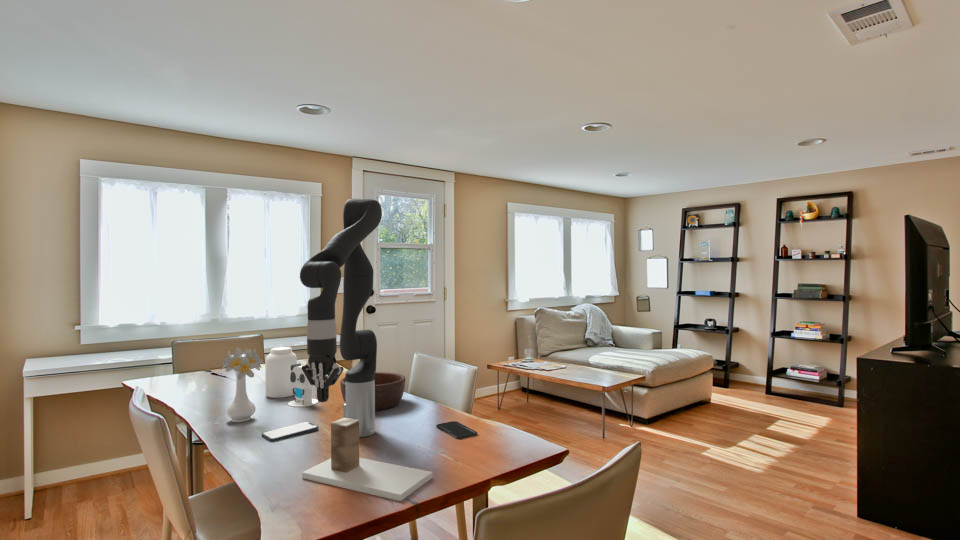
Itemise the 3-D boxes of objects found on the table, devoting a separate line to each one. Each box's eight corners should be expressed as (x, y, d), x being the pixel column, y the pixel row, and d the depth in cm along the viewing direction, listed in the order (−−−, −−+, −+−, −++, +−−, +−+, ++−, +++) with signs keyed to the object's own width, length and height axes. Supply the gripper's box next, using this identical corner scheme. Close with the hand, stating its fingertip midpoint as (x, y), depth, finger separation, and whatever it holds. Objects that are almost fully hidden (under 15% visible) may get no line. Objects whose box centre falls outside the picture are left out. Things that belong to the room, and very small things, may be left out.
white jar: (302, 394, 212) (302, 347, 212) (273, 400, 203) (273, 351, 203) (289, 389, 221) (288, 344, 221) (260, 395, 212) (260, 347, 212)
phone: (455, 420, 172) (478, 432, 159) (455, 424, 172) (478, 436, 159) (434, 424, 168) (457, 437, 155) (434, 428, 168) (457, 440, 155)
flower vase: (232, 430, 165) (232, 354, 165) (214, 418, 178) (214, 348, 178) (272, 421, 174) (271, 350, 174) (252, 411, 188) (252, 344, 188)
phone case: (271, 444, 154) (320, 431, 165) (271, 439, 154) (319, 426, 165) (260, 437, 160) (307, 425, 171) (259, 432, 160) (307, 420, 171)
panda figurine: (281, 403, 199) (281, 365, 199) (307, 397, 207) (307, 361, 207) (297, 408, 191) (297, 369, 191) (323, 402, 199) (323, 364, 199)
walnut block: (331, 469, 129) (330, 422, 129) (344, 462, 133) (344, 417, 133) (346, 472, 127) (346, 425, 126) (359, 465, 131) (359, 419, 131)
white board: (302, 478, 127) (302, 472, 127) (339, 459, 140) (339, 453, 140) (400, 501, 114) (400, 494, 114) (432, 477, 127) (432, 472, 127)
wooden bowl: (345, 417, 180) (345, 388, 180) (336, 400, 203) (336, 375, 203) (413, 408, 190) (412, 381, 190) (396, 393, 213) (396, 369, 213)
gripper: (350, 335, 134) (351, 400, 134) (313, 333, 140) (314, 396, 139) (331, 339, 127) (332, 407, 127) (292, 337, 133) (293, 402, 133)
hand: (322, 401), depth 133 cm, fingers closed
